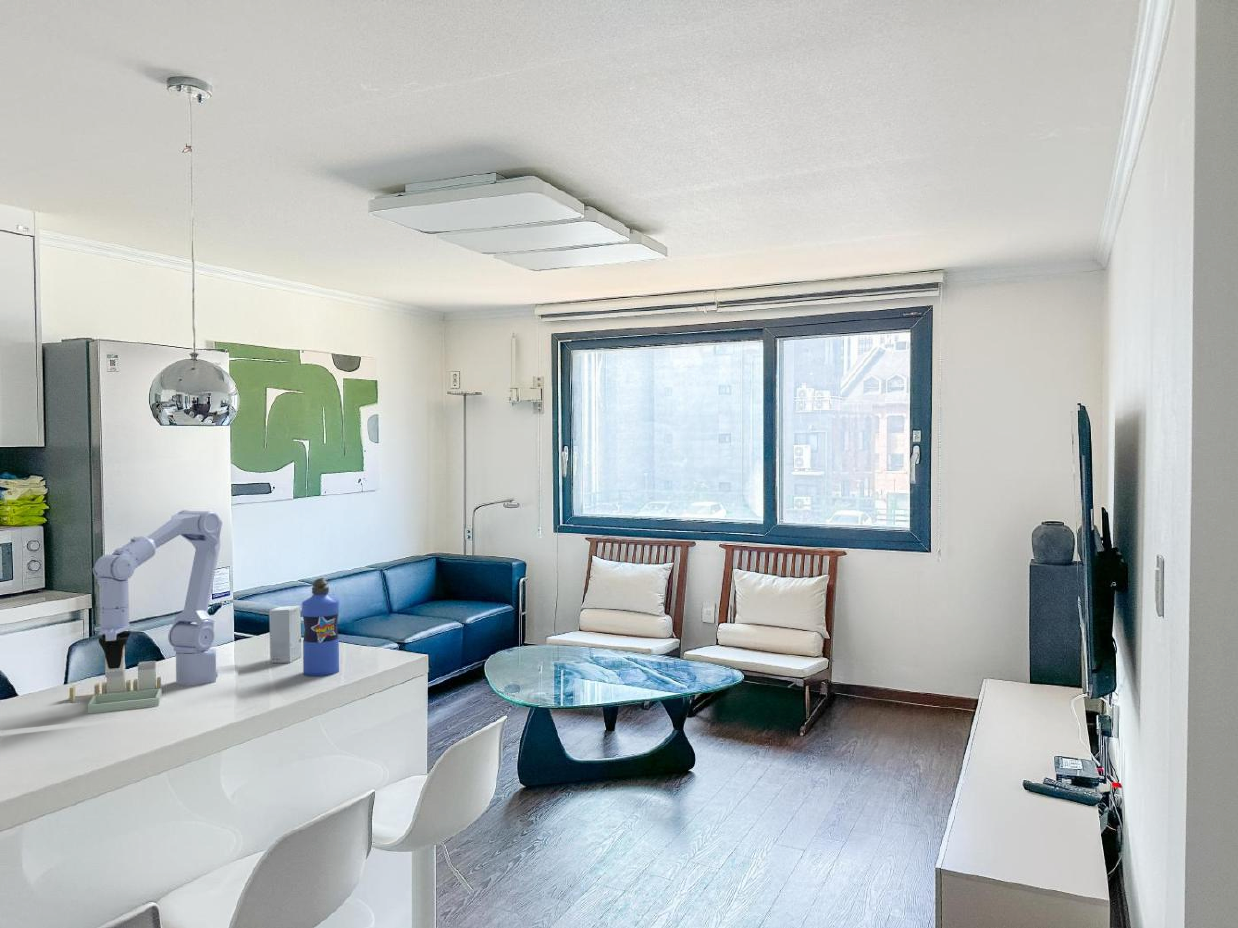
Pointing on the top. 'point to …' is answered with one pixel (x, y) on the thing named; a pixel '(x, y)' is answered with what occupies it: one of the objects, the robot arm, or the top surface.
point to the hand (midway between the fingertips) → (115, 666)
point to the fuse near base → (147, 675)
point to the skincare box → (285, 634)
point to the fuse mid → (116, 684)
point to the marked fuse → (116, 671)
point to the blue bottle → (320, 632)
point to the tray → (125, 704)
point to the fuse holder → (105, 690)
